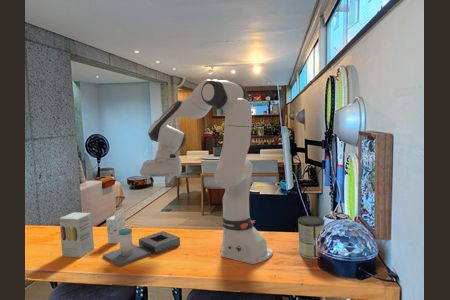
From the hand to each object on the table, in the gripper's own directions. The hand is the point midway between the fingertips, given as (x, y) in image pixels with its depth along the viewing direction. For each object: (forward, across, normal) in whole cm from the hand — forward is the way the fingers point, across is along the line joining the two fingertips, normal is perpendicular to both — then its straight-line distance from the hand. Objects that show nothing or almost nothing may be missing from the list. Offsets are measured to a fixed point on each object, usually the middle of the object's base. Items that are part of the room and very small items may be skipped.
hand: (157, 183), depth 147 cm
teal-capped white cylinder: (+33, -8, +4) cm, 34 cm away
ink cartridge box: (+22, -21, +16) cm, 34 cm away
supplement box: (+32, -31, +5) cm, 45 cm away
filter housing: (+26, +2, +13) cm, 29 cm away
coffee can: (+28, +68, +12) cm, 75 cm away
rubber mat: (+33, -8, +4) cm, 34 cm away
